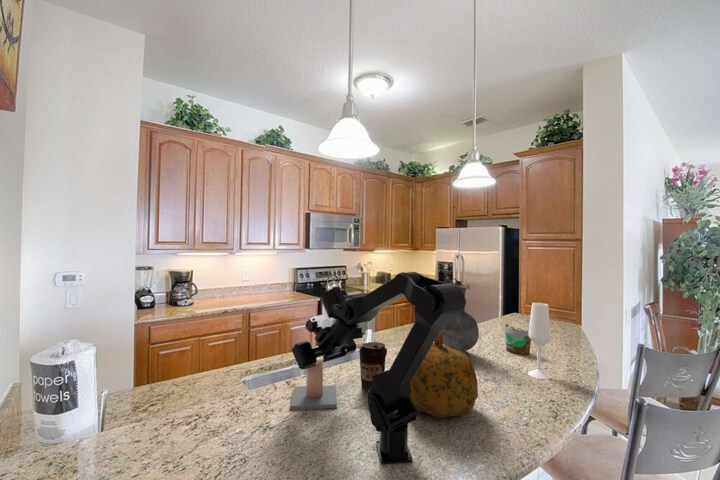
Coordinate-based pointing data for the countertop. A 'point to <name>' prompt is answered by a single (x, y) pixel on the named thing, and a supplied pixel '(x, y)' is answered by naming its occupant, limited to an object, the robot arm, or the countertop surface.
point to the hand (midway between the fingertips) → (312, 364)
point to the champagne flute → (539, 334)
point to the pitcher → (461, 329)
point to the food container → (517, 340)
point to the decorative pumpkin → (444, 382)
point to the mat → (304, 402)
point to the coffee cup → (371, 362)
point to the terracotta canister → (315, 380)
